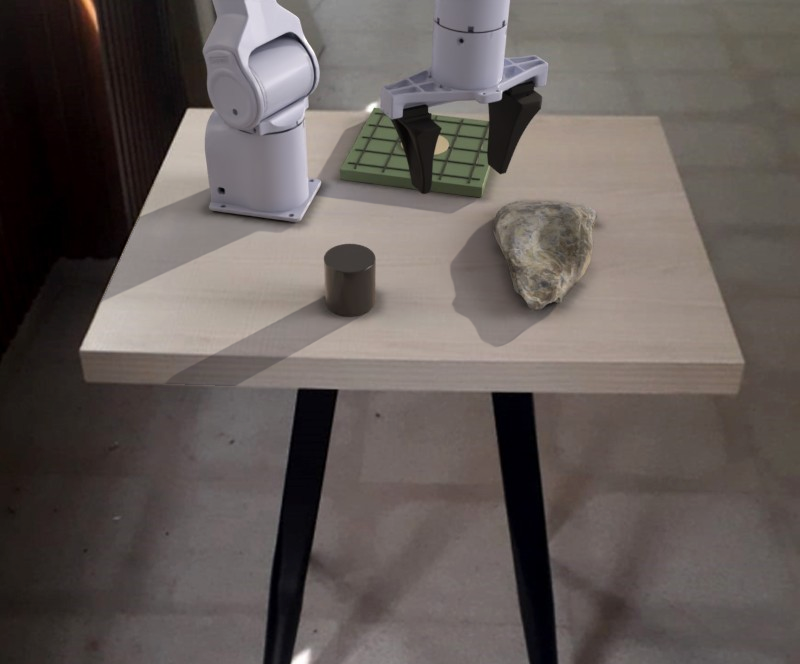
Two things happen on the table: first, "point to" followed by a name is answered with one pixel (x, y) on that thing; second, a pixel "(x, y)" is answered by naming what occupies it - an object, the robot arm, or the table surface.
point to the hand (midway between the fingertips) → (459, 178)
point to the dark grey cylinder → (350, 279)
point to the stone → (545, 247)
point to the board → (452, 164)
